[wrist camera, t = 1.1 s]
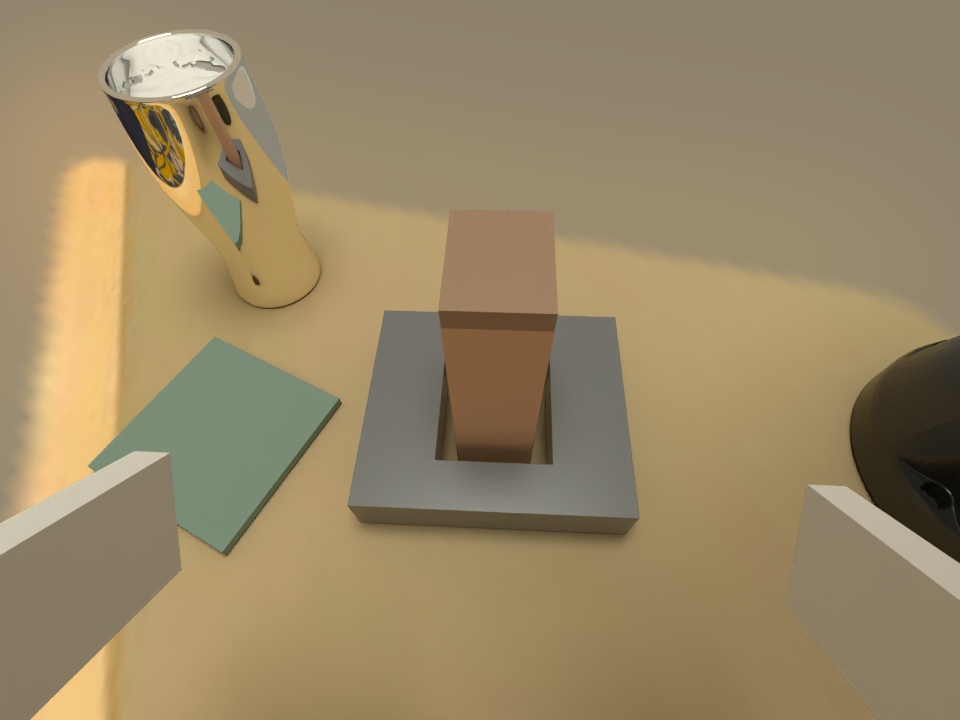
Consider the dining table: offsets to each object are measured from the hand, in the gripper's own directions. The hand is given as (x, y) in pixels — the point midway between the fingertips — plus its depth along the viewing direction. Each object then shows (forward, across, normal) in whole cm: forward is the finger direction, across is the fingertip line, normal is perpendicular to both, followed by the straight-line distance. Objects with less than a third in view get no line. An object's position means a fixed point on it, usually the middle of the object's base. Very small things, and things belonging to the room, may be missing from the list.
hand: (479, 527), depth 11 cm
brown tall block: (+19, 0, -4) cm, 20 cm away
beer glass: (+27, -16, +3) cm, 32 cm away
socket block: (+19, 0, -4) cm, 20 cm away
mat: (+18, -16, -6) cm, 25 cm away
